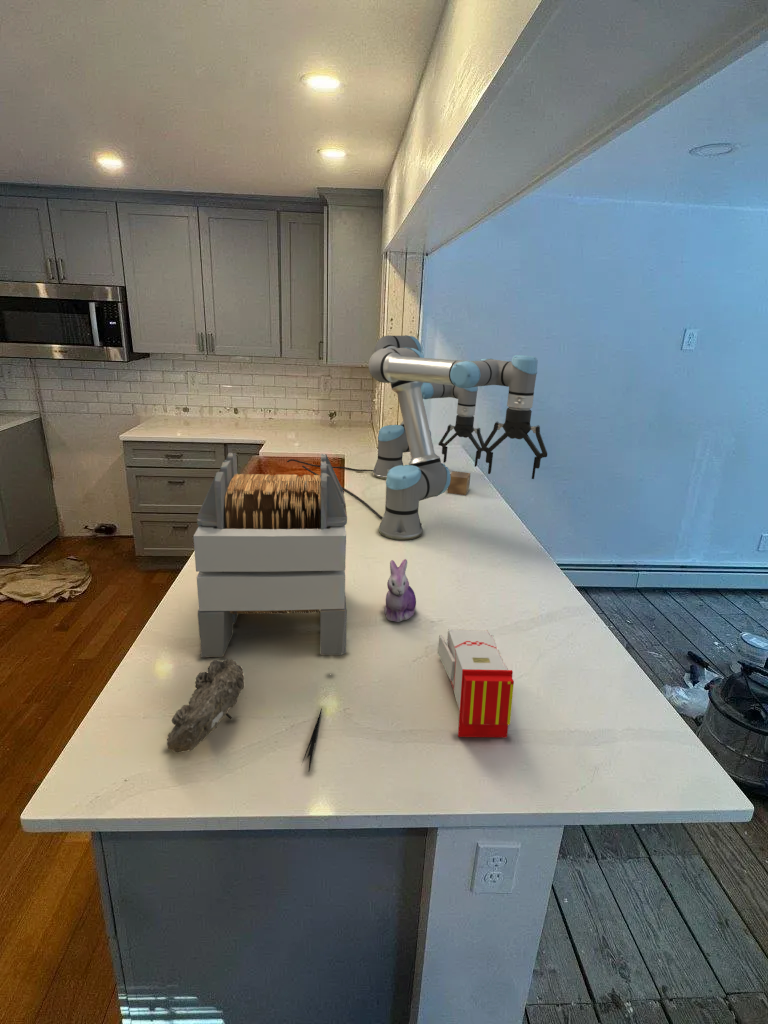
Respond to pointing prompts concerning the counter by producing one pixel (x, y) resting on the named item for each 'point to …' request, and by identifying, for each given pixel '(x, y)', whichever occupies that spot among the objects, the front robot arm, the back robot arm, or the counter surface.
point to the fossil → (206, 705)
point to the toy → (478, 682)
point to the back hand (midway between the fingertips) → (460, 463)
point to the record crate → (271, 552)
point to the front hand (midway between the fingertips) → (510, 475)
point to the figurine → (399, 594)
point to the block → (459, 483)
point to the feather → (313, 740)
